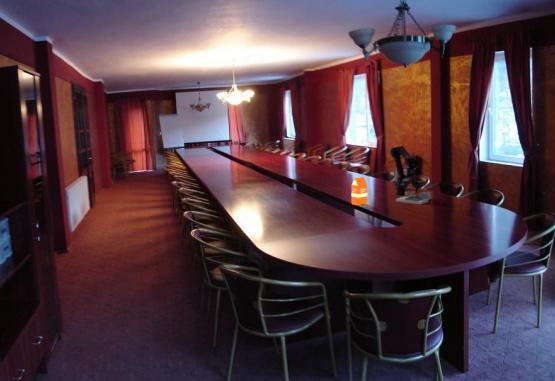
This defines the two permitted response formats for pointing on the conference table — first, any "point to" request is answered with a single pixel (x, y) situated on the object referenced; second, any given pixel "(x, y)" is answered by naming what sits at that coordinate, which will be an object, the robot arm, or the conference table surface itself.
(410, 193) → the birch block
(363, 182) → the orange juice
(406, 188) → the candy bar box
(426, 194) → the teal block
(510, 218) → the conference table surface
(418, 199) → the grey tray
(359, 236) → the conference table surface
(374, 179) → the conference table surface
